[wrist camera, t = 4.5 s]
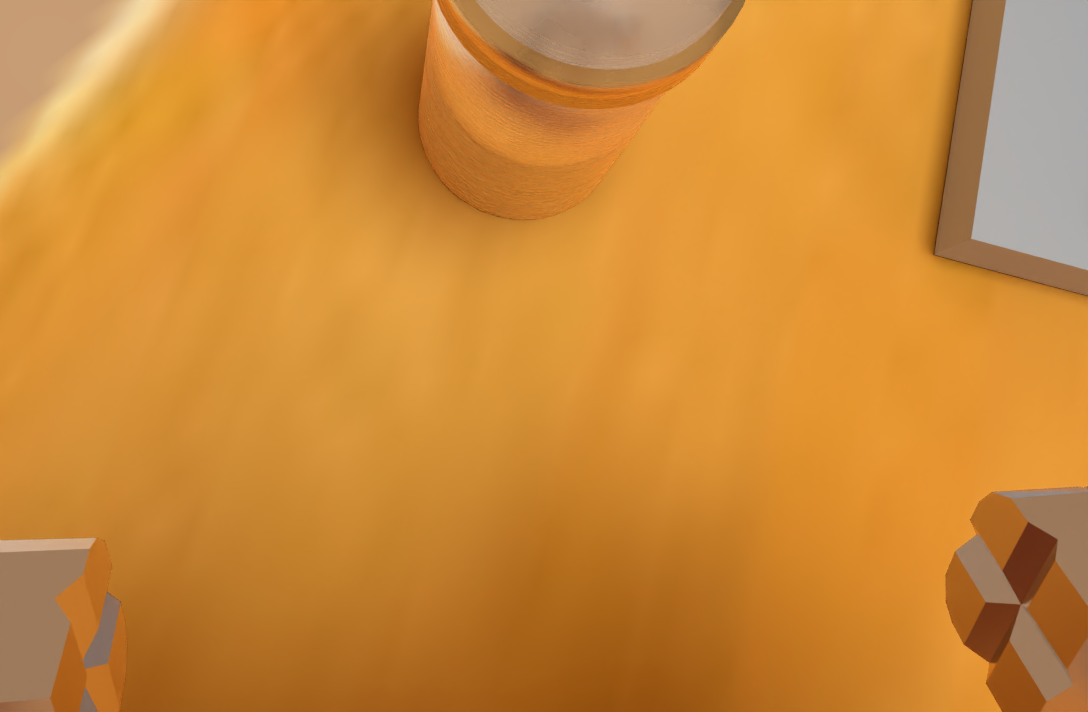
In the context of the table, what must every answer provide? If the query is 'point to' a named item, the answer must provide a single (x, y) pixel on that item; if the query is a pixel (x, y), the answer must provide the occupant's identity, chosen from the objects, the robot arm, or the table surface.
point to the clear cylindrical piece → (550, 91)
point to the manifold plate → (1021, 144)
